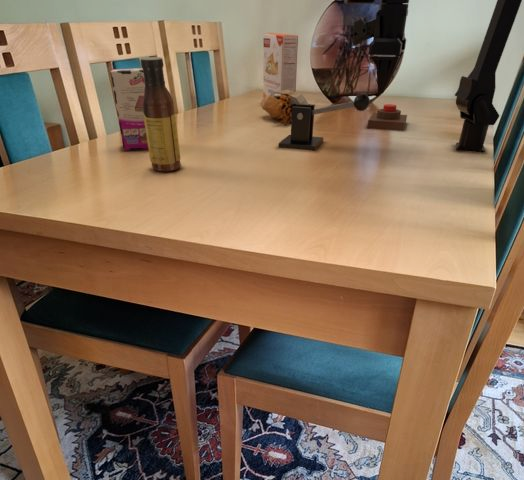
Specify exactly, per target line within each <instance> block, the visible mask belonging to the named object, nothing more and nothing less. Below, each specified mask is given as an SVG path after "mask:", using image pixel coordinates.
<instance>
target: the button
mask: <svg viewBox="0 0 524 480" xmlns="http://www.w3.org/2000/svg"><path fill="white" fill-rule="evenodd" d="M382 109H383V111H385V112H396V109H397V105H396V104H391V103H388V104H386V103H385V104H383V108H382Z"/></svg>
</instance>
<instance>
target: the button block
mask: <svg viewBox="0 0 524 480" xmlns="http://www.w3.org/2000/svg"><path fill="white" fill-rule="evenodd" d="M407 120H408V114H402V110H400V109H397V108H396V112H385V111H383V108H379V109H377V112H373V113H372V114H371V115H370V117H369V119H368V121H367V127H366V128H367V129H369V130H371V129H372V130H383V131H384V130H385V131H399V132H404V129H405V127H406V123H407Z"/></svg>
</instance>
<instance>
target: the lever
mask: <svg viewBox="0 0 524 480" xmlns="http://www.w3.org/2000/svg"><path fill="white" fill-rule="evenodd" d="M370 103H371V100H370V96H369V95H367V94H366V93H359V94H357V95H356V96H355V97H354V100H353V101H349V102H343V103H339V104H334V105H329V106H324V107H319V108H315V109H314V110H311V115H314V116H315V115H319V114H325V113H329V112H335V111H339V110H344V109H349V108H354V109H355V110H356V111H358V112H364V111H366V110H367V109H368V108H369V106H370Z"/></svg>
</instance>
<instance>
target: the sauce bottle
mask: <svg viewBox="0 0 524 480" xmlns="http://www.w3.org/2000/svg"><path fill="white" fill-rule="evenodd" d="M140 66H141V67H140V68H142V69H143V73H144V80H145V82H144V83H145V91H144V101H143V107H142V111H143V117H144V123H145V129H146V136H147V142H148V149H147V150H148V154H149V160H150V163H151V167H152V169H153V170H155V171H157V172H162V173H167V172H168V173H169V172H173V171H177V170H179V169H180V168H181V151H180V144H179V134H178V127H177V119H176V118H177V117H176V112H175V106H174V100H173V97H172V95H171V93H170V91H169V90H168V88H167V87H166V80H165V74H164V59H163V57H160V56H147V57H142V58H140Z"/></svg>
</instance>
